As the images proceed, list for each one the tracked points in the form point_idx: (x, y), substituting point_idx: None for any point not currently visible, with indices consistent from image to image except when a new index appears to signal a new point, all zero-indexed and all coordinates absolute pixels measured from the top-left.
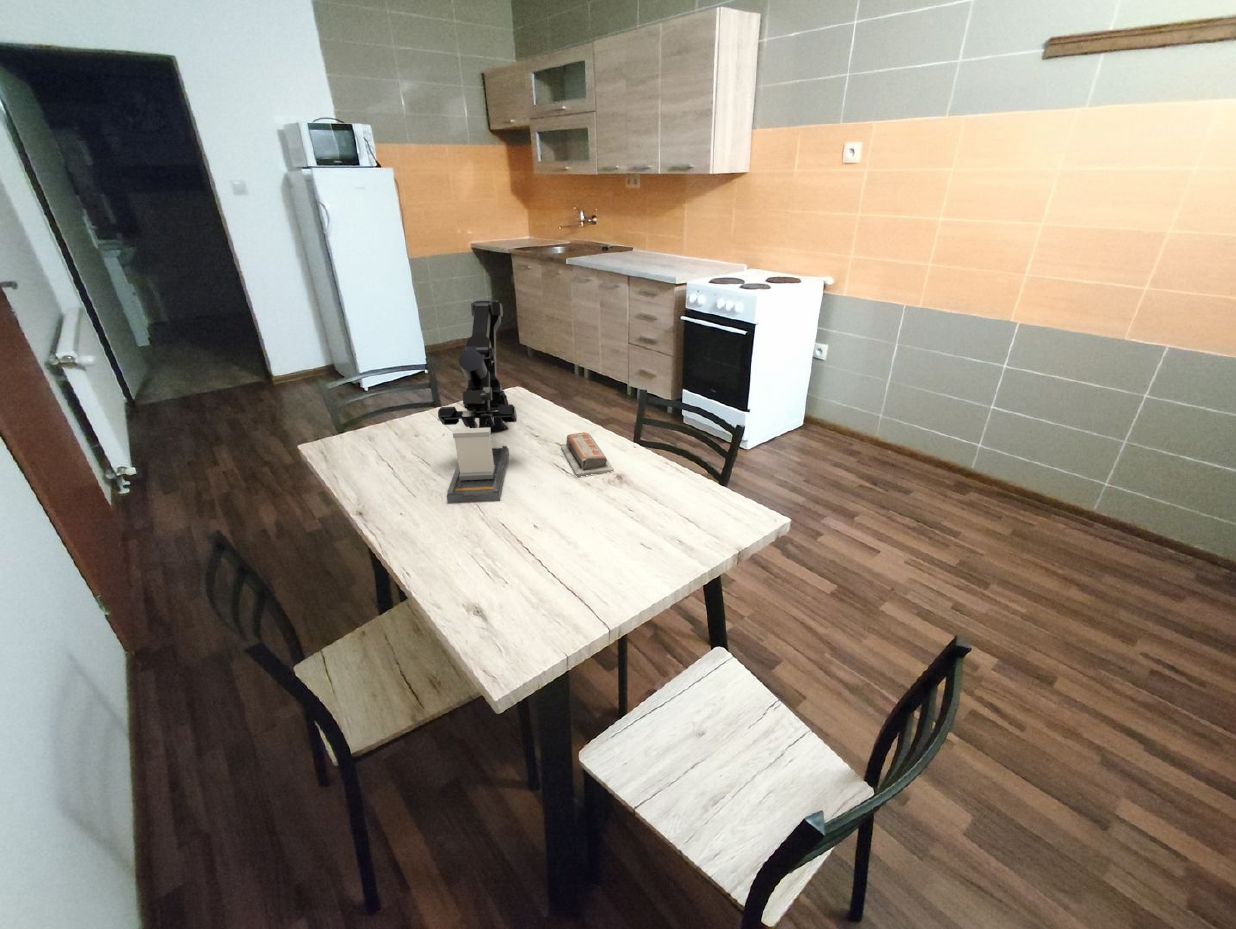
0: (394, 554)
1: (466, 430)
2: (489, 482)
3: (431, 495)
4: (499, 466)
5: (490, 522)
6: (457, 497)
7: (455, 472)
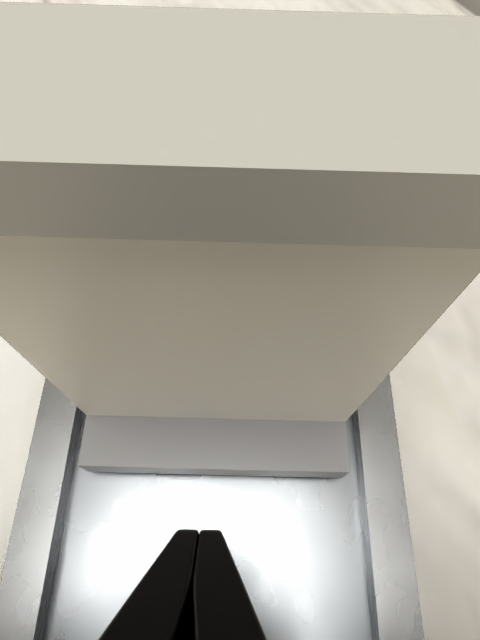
0: (435, 5)
1: (302, 89)
2: None
3: (465, 309)
4: (50, 478)
5: None
6: None
7: (385, 419)
